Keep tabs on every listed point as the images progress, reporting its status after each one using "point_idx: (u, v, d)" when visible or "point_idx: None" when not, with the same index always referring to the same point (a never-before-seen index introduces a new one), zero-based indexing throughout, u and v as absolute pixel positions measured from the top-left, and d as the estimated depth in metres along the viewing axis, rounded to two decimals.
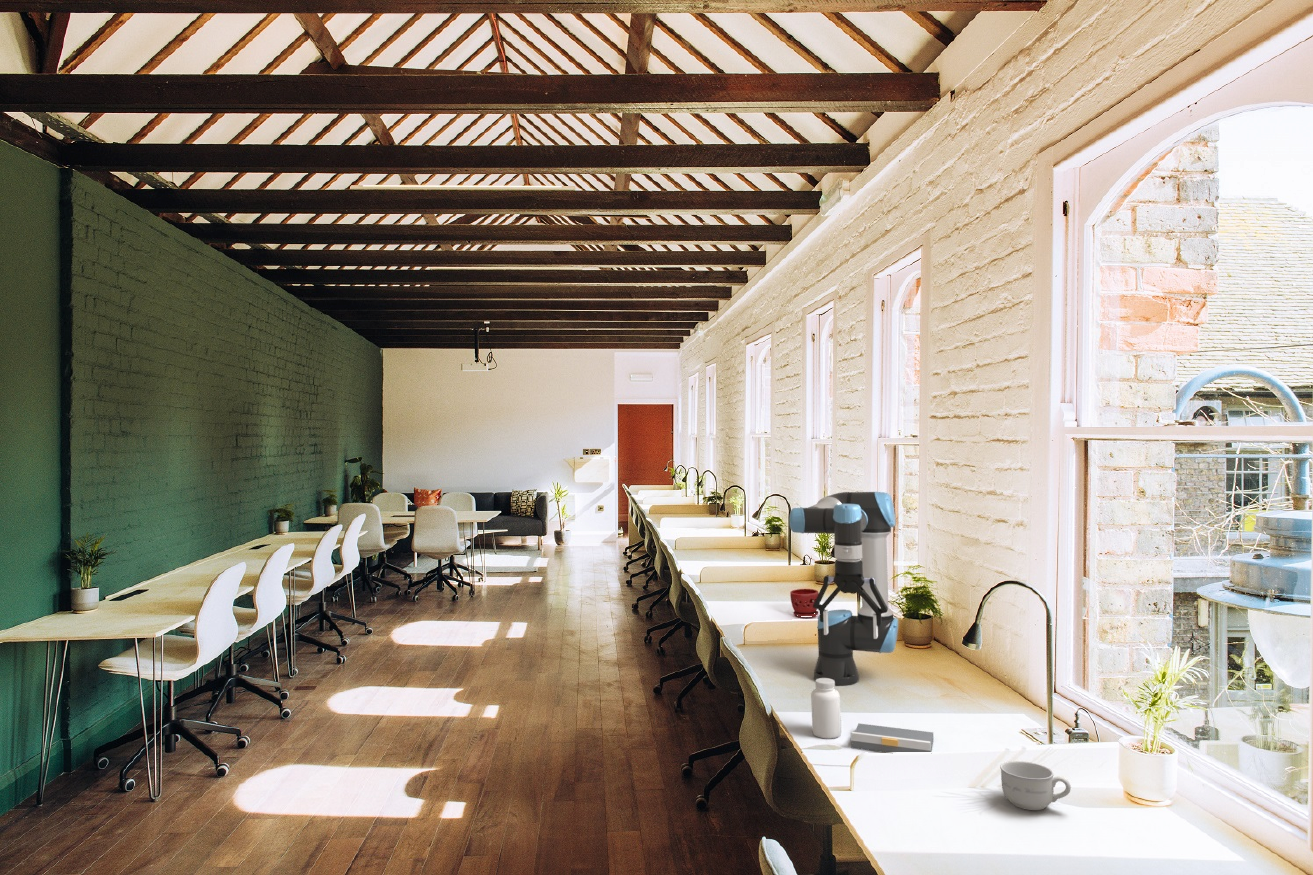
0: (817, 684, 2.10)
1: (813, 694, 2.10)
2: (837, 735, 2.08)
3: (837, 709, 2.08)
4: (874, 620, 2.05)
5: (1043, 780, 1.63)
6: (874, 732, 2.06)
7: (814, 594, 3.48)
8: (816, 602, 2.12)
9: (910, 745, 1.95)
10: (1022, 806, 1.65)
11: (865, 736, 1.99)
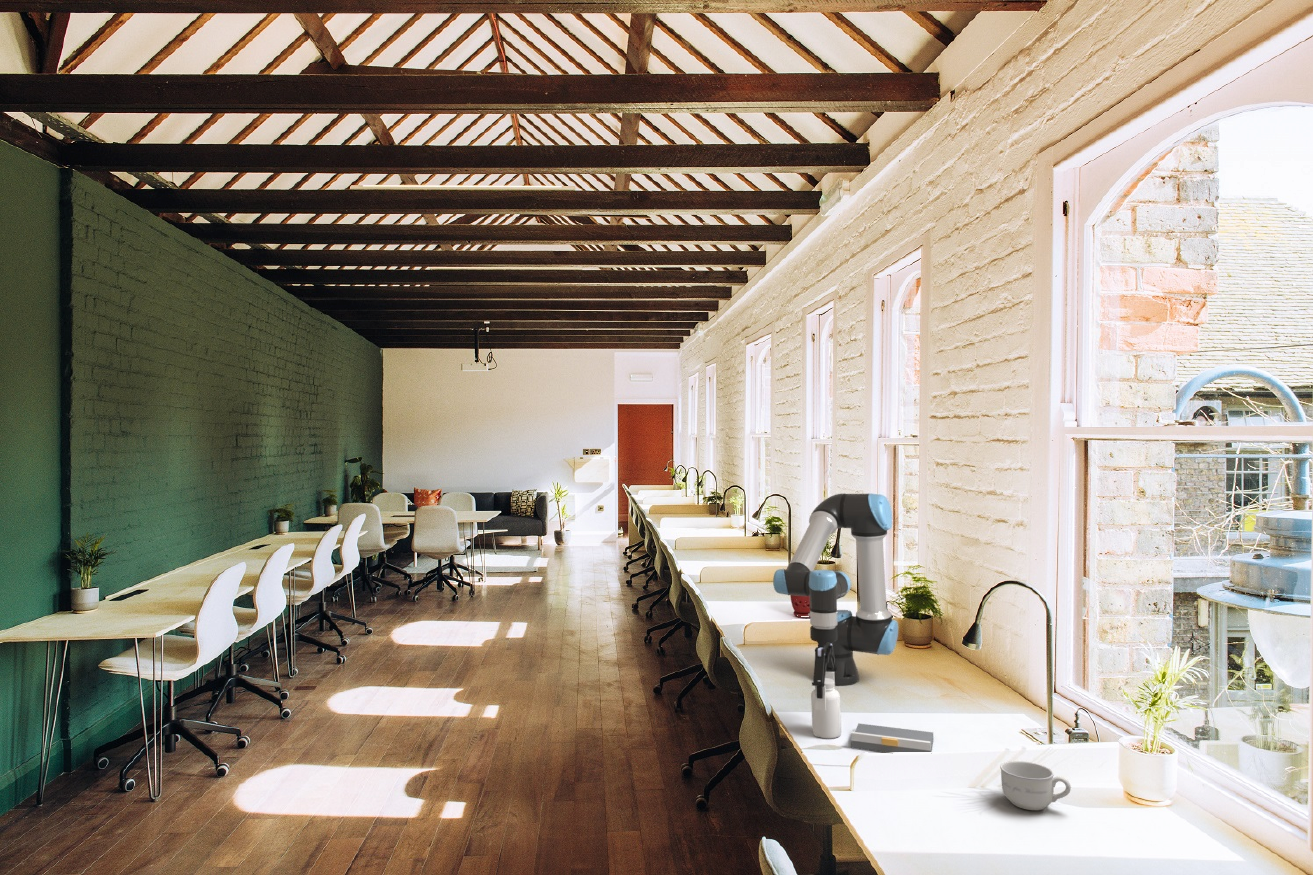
0: None
1: (813, 694, 2.10)
2: (837, 735, 2.08)
3: (837, 709, 2.08)
4: (815, 690, 2.05)
5: (1044, 780, 1.63)
6: (874, 732, 2.06)
7: None
8: None
9: (910, 745, 1.95)
10: (1022, 806, 1.65)
11: (865, 736, 1.99)
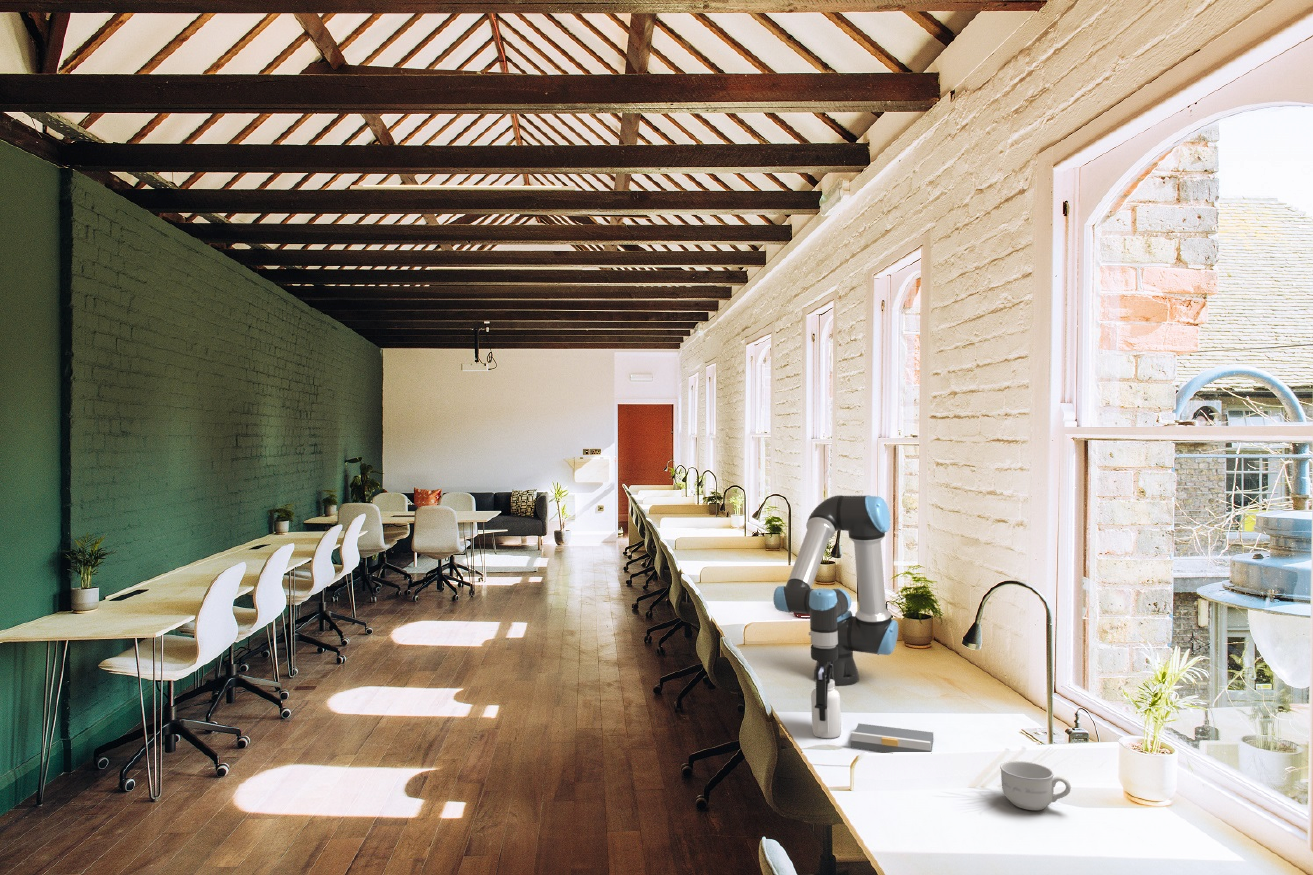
0: None
1: (813, 694, 2.10)
2: (837, 735, 2.08)
3: (837, 709, 2.08)
4: (818, 712, 2.08)
5: (1044, 780, 1.63)
6: (874, 732, 2.06)
7: None
8: None
9: (910, 745, 1.95)
10: (1022, 806, 1.65)
11: (865, 736, 1.99)
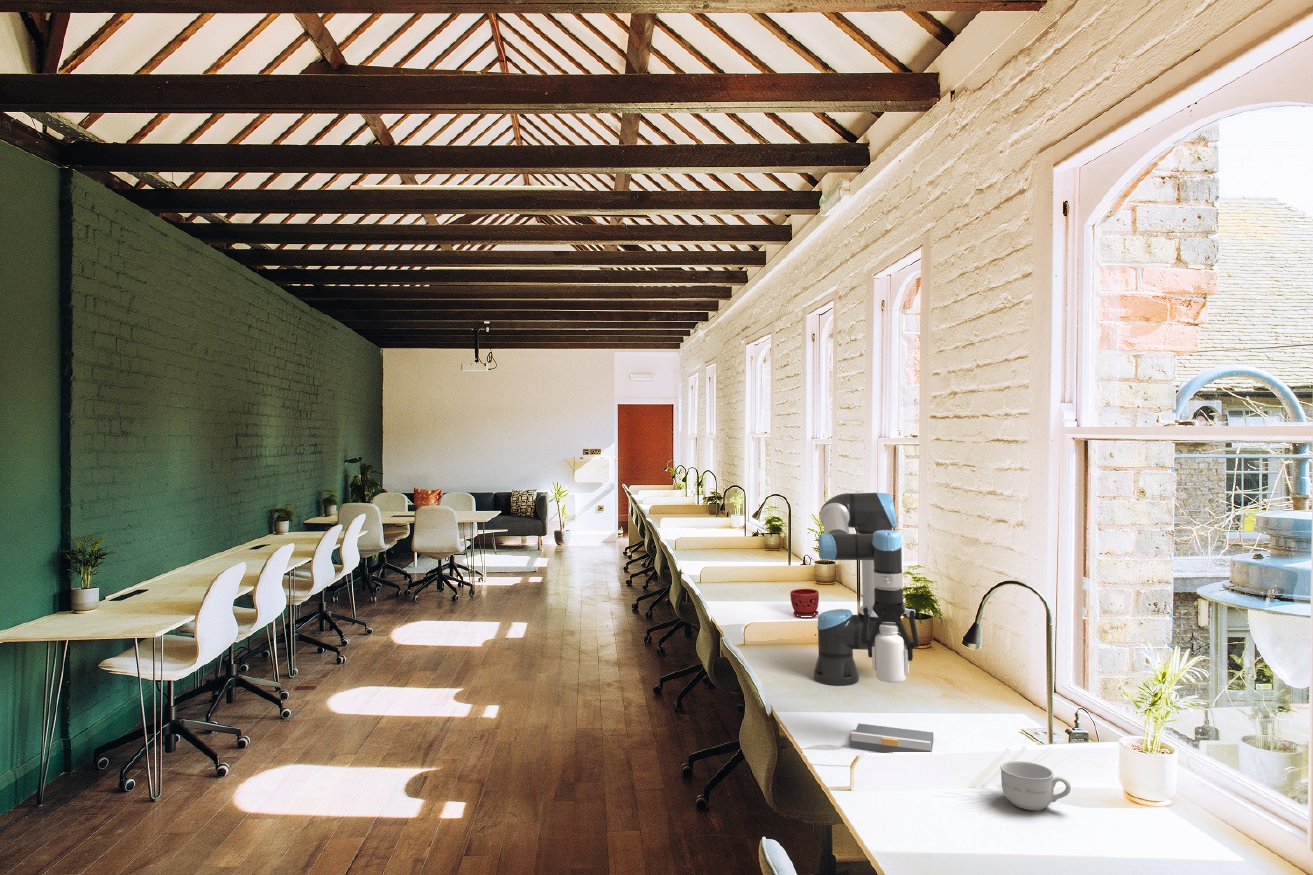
0: (895, 628, 2.03)
1: (897, 640, 2.01)
2: None
3: None
4: (905, 655, 2.02)
5: (1044, 780, 1.63)
6: (874, 732, 2.06)
7: (814, 594, 3.48)
8: (863, 636, 2.07)
9: (910, 745, 1.95)
10: (1022, 806, 1.65)
11: (865, 736, 1.99)
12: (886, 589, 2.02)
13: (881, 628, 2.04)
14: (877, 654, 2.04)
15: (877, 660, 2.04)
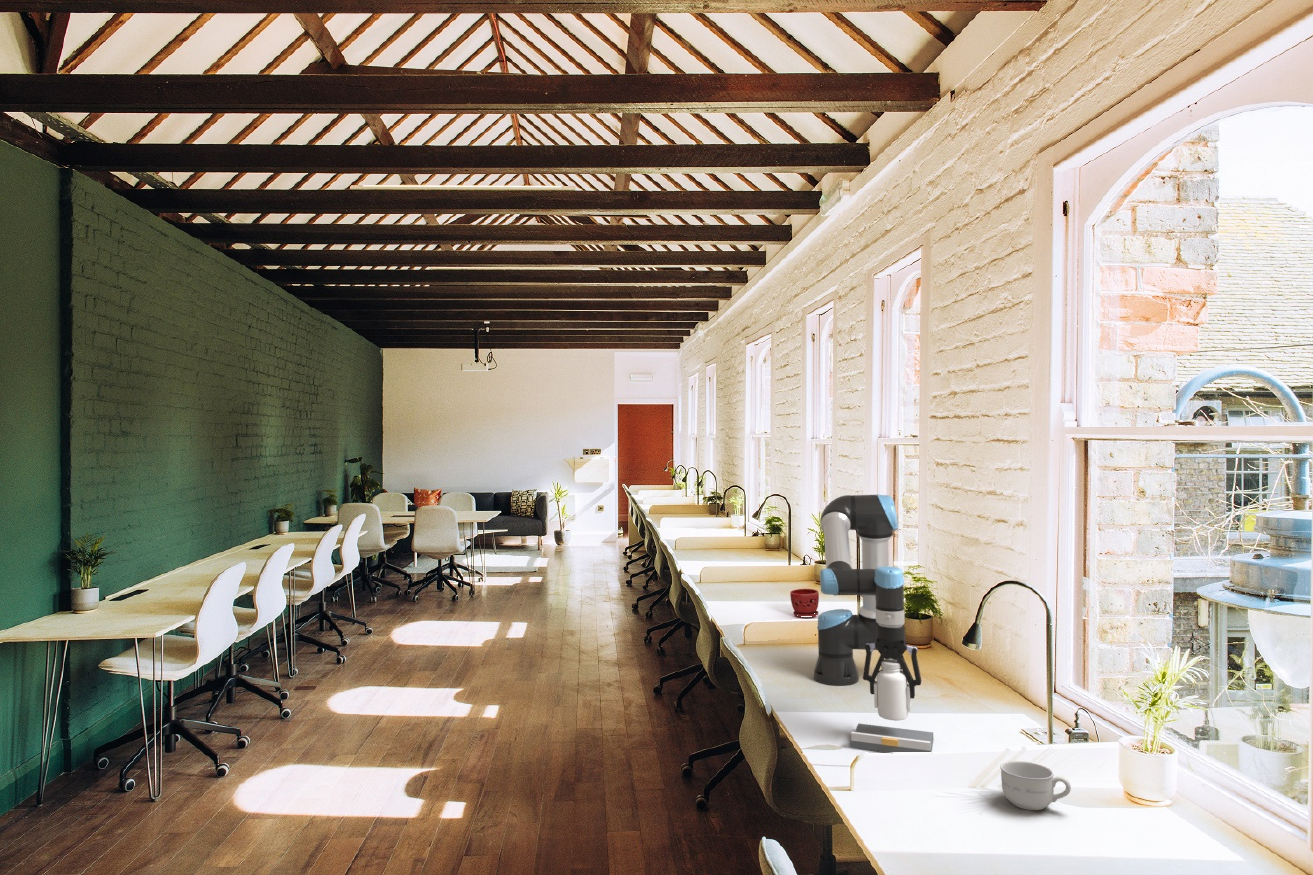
0: (897, 666, 2.02)
1: (899, 677, 2.01)
2: None
3: None
4: (908, 692, 2.02)
5: (1044, 779, 1.63)
6: (874, 732, 2.06)
7: (814, 594, 3.48)
8: (865, 673, 2.06)
9: (910, 745, 1.95)
10: (1022, 806, 1.65)
11: (865, 736, 1.99)
12: (888, 626, 2.02)
13: (883, 665, 2.04)
14: (879, 691, 2.04)
15: (879, 697, 2.04)
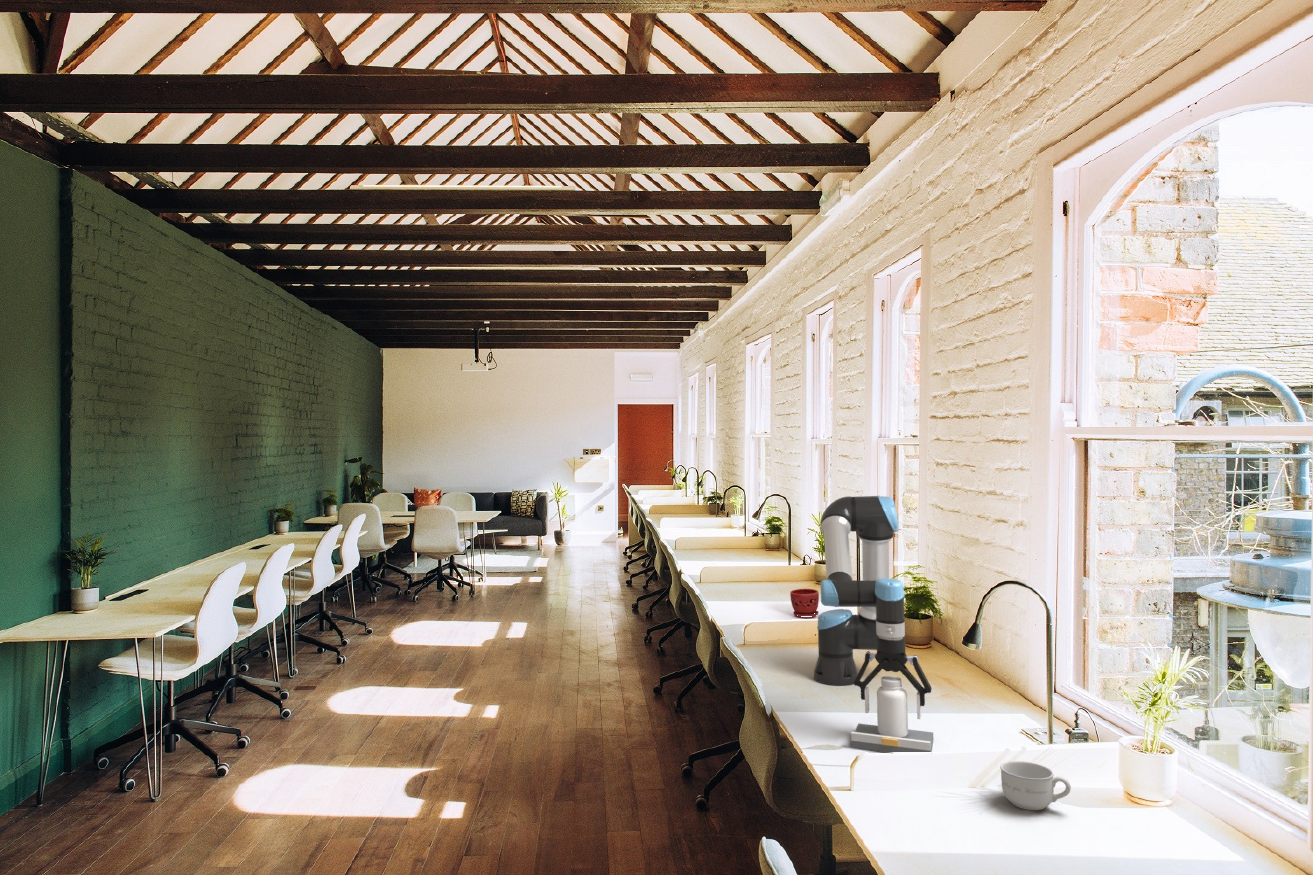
0: (898, 683, 2.03)
1: (899, 695, 2.01)
2: None
3: None
4: (918, 700, 2.01)
5: (1044, 780, 1.63)
6: (874, 732, 2.06)
7: (814, 594, 3.48)
8: (857, 679, 2.07)
9: (910, 745, 1.95)
10: (1022, 806, 1.65)
11: (865, 736, 1.99)
12: (888, 639, 2.02)
13: (883, 683, 2.04)
14: (879, 709, 2.04)
15: (879, 715, 2.04)
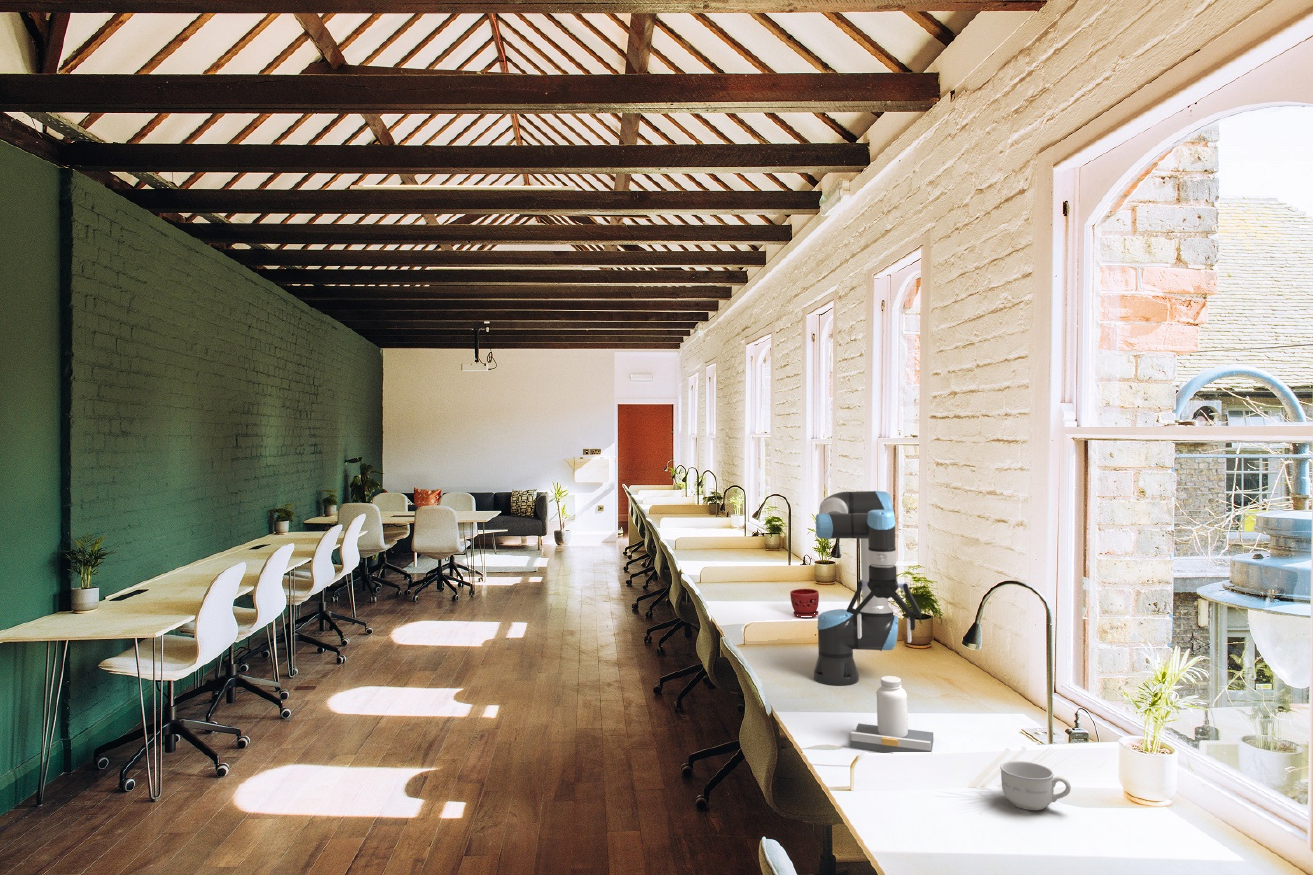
0: (897, 683, 2.03)
1: (899, 695, 2.01)
2: None
3: None
4: (908, 624, 2.09)
5: (1044, 780, 1.63)
6: (874, 732, 2.06)
7: (814, 594, 3.48)
8: (850, 606, 2.15)
9: (910, 745, 1.95)
10: (1022, 806, 1.65)
11: (865, 736, 1.99)
12: (880, 566, 2.09)
13: (883, 683, 2.04)
14: (879, 709, 2.04)
15: (879, 715, 2.04)
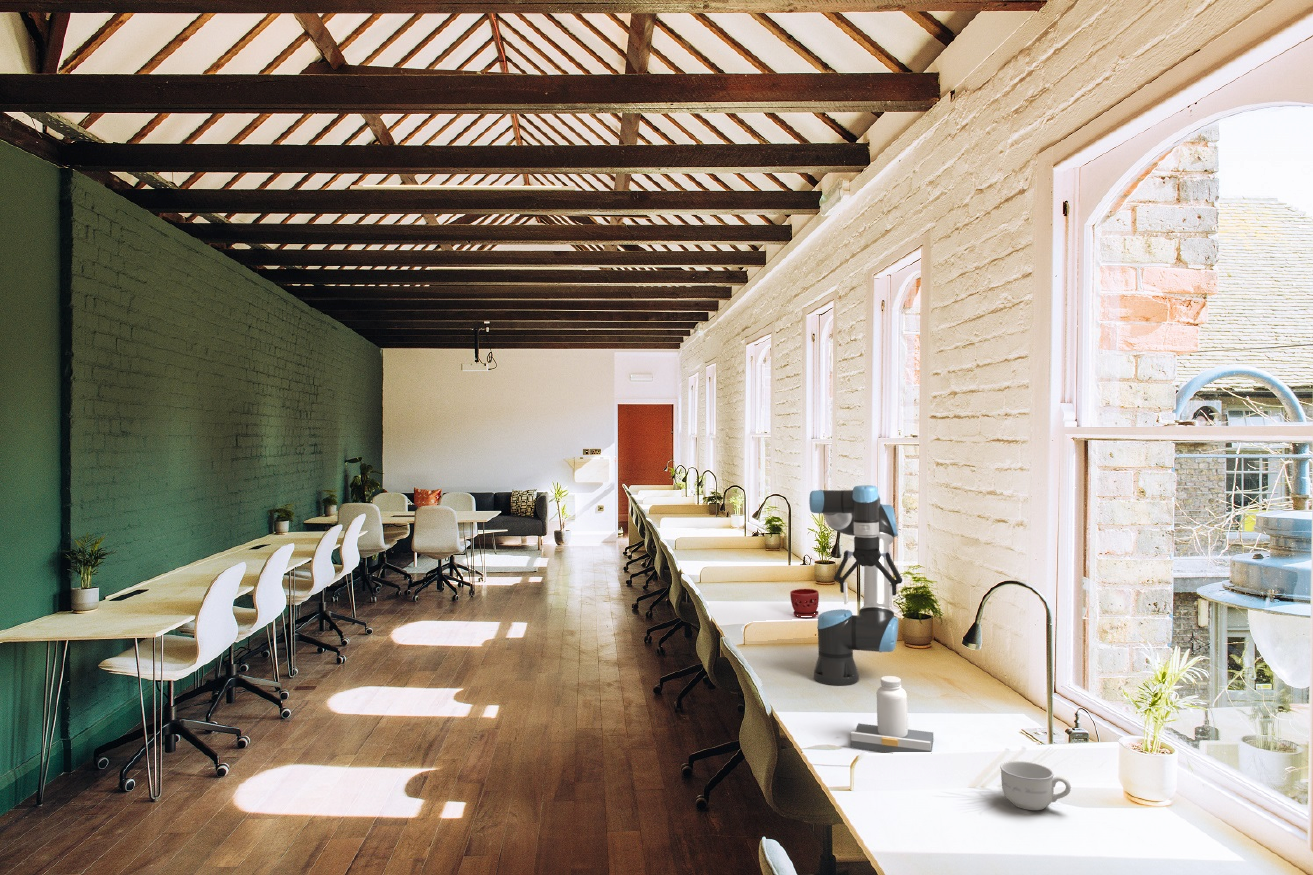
0: (897, 683, 2.03)
1: (899, 695, 2.01)
2: None
3: None
4: (890, 590, 2.27)
5: (1044, 780, 1.63)
6: (874, 732, 2.06)
7: (814, 594, 3.48)
8: (837, 575, 2.33)
9: (910, 745, 1.95)
10: (1022, 806, 1.65)
11: (865, 736, 1.99)
12: (864, 536, 2.28)
13: (883, 683, 2.04)
14: (879, 709, 2.04)
15: (879, 715, 2.04)
